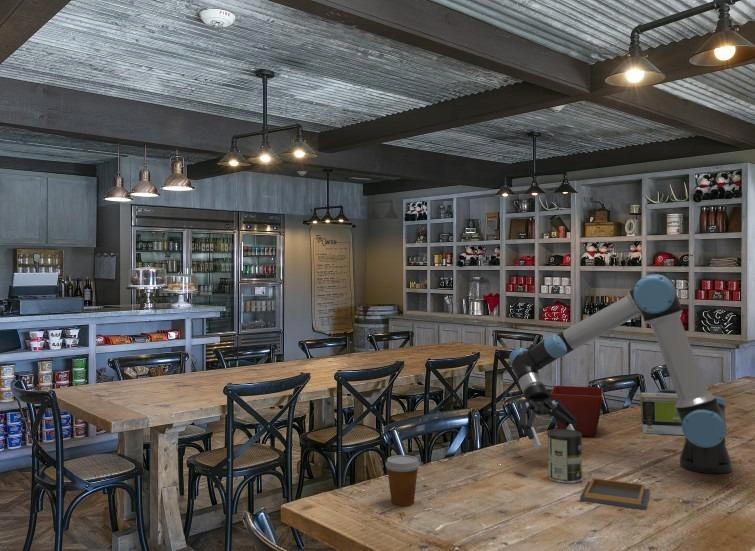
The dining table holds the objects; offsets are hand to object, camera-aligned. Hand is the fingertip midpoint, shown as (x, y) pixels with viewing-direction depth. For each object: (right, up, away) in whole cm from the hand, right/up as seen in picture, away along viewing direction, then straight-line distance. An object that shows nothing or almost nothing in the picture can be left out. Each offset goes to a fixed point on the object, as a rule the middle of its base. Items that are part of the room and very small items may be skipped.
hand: (557, 445), depth 205 cm
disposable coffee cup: (-49, -10, -22) cm, 55 cm away
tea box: (+56, -9, +54) cm, 79 cm away
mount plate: (+11, -9, -19) cm, 24 cm away
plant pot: (+23, -9, +54) cm, 59 cm away
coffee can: (+2, -10, -2) cm, 10 cm away
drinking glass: (+69, -8, +76) cm, 103 cm away
